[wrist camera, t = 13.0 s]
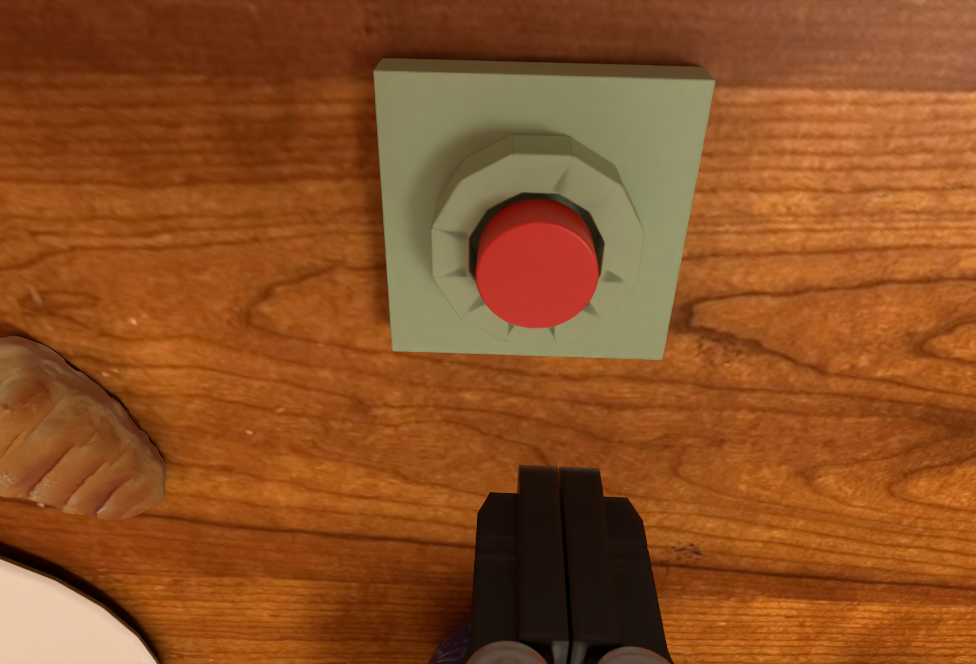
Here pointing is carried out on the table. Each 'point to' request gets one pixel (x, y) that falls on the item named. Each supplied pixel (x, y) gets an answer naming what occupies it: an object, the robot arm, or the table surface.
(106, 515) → the pastry
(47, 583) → the plate
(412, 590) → the table surface
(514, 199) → the button block
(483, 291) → the button
